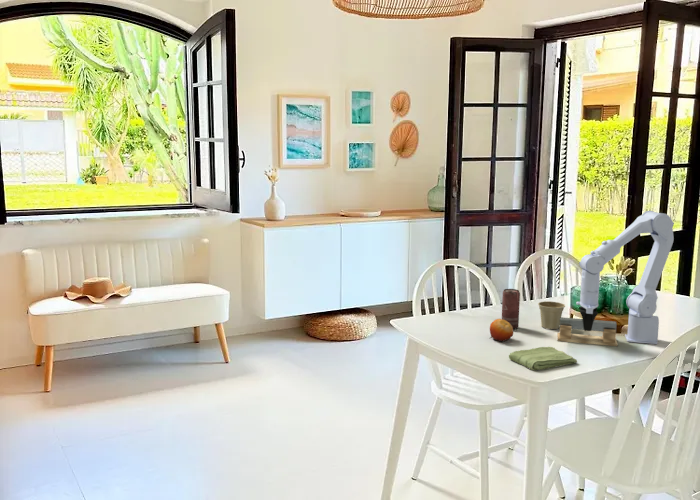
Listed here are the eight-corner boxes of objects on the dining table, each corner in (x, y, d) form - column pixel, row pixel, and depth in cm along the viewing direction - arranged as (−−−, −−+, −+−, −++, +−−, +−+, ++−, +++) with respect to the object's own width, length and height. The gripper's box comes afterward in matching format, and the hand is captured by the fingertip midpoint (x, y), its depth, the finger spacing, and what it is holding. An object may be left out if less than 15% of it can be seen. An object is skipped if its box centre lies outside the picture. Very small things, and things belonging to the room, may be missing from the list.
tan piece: (615, 339, 224) (616, 325, 223) (617, 346, 217) (618, 331, 216) (557, 334, 229) (558, 320, 228) (557, 340, 222) (558, 326, 221)
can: (512, 331, 234) (514, 292, 232) (497, 327, 239) (499, 289, 236) (522, 327, 238) (524, 290, 236) (507, 324, 242) (509, 287, 240)
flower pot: (565, 331, 233) (566, 308, 232) (537, 330, 235) (539, 306, 234) (562, 324, 242) (563, 302, 241) (536, 323, 244) (537, 300, 243)
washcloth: (579, 365, 199) (579, 355, 199) (533, 373, 192) (533, 362, 192) (549, 352, 211) (550, 343, 211) (505, 360, 204) (505, 350, 203)
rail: (615, 330, 221) (615, 321, 221) (615, 332, 218) (616, 323, 218) (559, 325, 226) (560, 317, 226) (559, 327, 224) (560, 319, 223)
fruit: (492, 329, 230) (503, 313, 226) (509, 345, 226) (520, 328, 222) (479, 334, 225) (490, 317, 221) (496, 350, 221) (507, 333, 217)
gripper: (576, 285, 228) (574, 322, 230) (577, 294, 214) (575, 334, 217) (598, 286, 226) (595, 324, 228) (600, 295, 212) (598, 336, 215)
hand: (587, 329), depth 222 cm, fingers closed on rail, 3 cm apart
